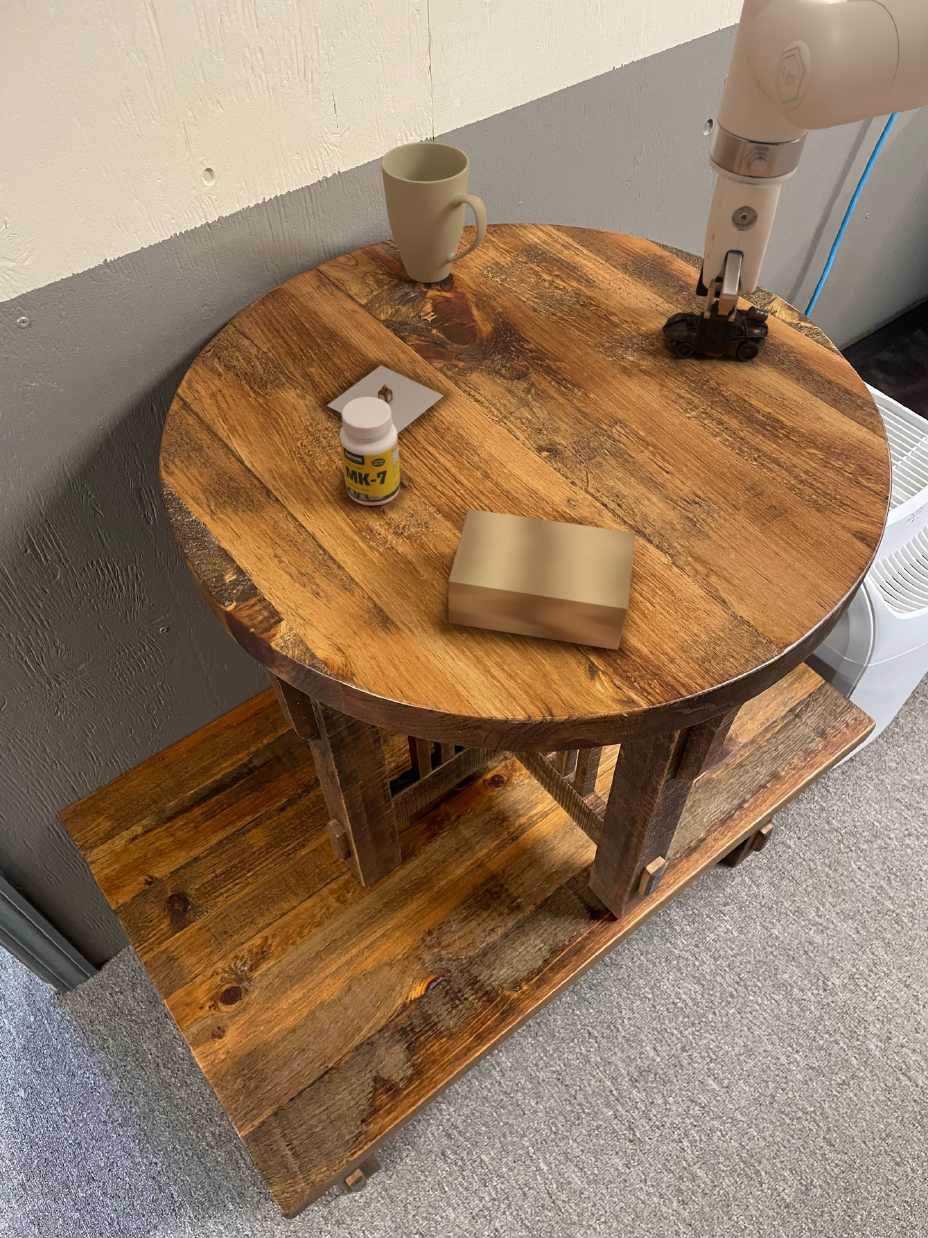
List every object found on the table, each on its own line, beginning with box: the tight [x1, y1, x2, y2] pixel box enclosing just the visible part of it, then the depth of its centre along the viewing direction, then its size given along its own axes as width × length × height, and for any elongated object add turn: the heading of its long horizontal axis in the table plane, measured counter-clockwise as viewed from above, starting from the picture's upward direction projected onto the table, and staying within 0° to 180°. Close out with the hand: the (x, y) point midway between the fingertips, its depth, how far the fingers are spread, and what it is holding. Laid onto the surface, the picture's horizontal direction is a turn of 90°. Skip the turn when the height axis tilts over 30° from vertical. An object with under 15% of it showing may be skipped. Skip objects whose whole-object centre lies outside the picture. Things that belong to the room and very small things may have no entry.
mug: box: [380, 141, 488, 284], centre depth 92 cm, size 11×10×12 cm
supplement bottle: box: [339, 397, 401, 506], centre depth 72 cm, size 5×5×8 cm
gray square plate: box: [326, 364, 445, 435], centre depth 82 cm, size 8×8×2 cm
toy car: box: [652, 305, 769, 362], centre depth 87 cm, size 6×12×4 cm, turn 91°
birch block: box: [447, 508, 636, 651], centre depth 66 cm, size 13×8×5 cm, turn 79°
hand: (709, 322), depth 87 cm, fingers open, 9 cm apart
